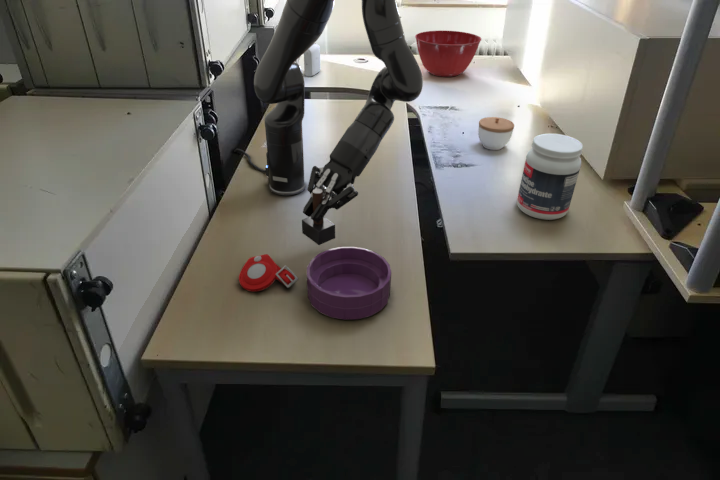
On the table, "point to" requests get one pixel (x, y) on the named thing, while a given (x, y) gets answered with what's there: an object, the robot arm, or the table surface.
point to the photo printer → (312, 60)
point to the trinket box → (495, 132)
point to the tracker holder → (264, 274)
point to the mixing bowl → (446, 51)
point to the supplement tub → (550, 176)
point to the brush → (323, 228)
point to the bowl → (348, 282)
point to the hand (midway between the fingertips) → (310, 217)
